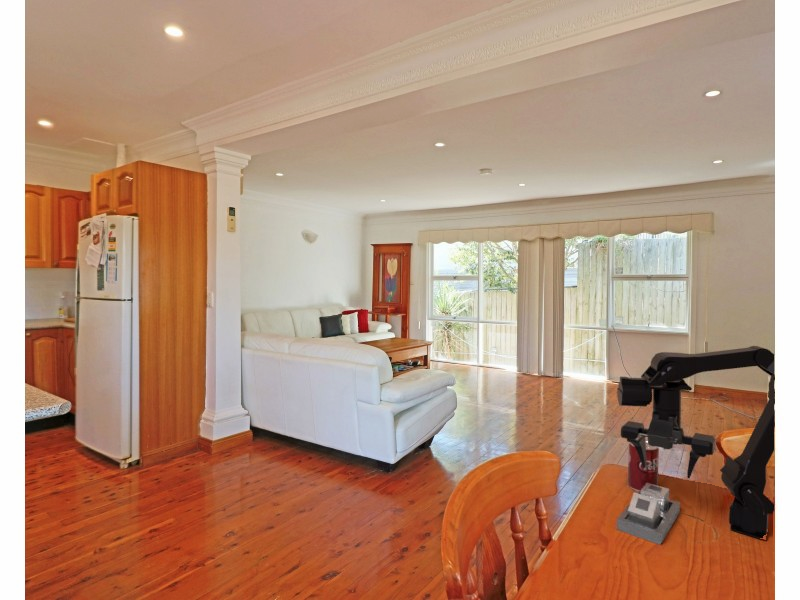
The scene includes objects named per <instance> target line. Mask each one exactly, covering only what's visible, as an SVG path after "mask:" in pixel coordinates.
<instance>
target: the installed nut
mask: <svg viewBox="0 0 800 600" xmlns="http://www.w3.org/2000/svg"><path fill="white" fill-rule="evenodd" d="M641 495H645V496H648V497H651V498H655V499H658V503H659V508H660V511H661V512H664V513H667V512H668V510H669V500H670V488H667V487H663V486H661V485H660V486H659V485H658V486H657V485H653V484H650V483H646V484H645V486H644V487H643V488H642V489H641Z"/></svg>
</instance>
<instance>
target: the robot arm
mask: <svg viewBox="0 0 800 600" xmlns="http://www.w3.org/2000/svg"><path fill="white" fill-rule="evenodd" d="M751 367H758V368H759V369H760V370H761V371H762V372H764V373H766V374H768V375H769V376H770V379H769V383H768V401H767V403H766V405H765V406H764V409H763V411H762V413H761V415H760V417H759V419H758V421H757V423H756V425H755V427H754V429H753V431H752V433H751V434H750V437H749V439H748V440H747V443H746V445H745V447H744V449H743V451H742V453H741V454H740V455H739V456H737V457H735V458H732V457H731V456H727V457H726V459H725V463H724V465H723V467H721V468H720V470H719V471H720V472H721V477H720V478H721V481H722V483H723V485H724V486H725V487H726V488H727V489H728V490H729V492H730V494H731V495H732V496H734V498H733V501H732V502H731V503H730V505H729V516H728V523H729V525H730V527H729V528H730V530H731V531H732V532H736V533H740V534H743V535H745V536H748V537H752V538H755V539H758V538H759V540H761V539H760V538H763V536H764V535H766V534H767V529H768V527H769V515H773V513H774V512H775V510H774V504H775V503H774V502H773V501H771V499H770V498H768V497H767V496H766V494H764V493H765V489H766V485H767V467H768V464H769V462H770V460H771V457H772V456H773V454H774V451H775V450H774V353H773V352H772V351H771V350H770V349H768V348H764V347H761V346H758V345H752V346H748V347H741V348H734V349H733V348H732V349H724V350H716V351H708V352H698V353H683V352H674V351H673V352H671V351H670V352H669V351H668V352H667V351H662V352H661V351H660V352H658V353H656V354H654V356H653V357H652V358H651V361H650V365H649V366H648V367H647V368H646V369H645V371H644V372H643V373H642V374H641V376H640V377H628V376H619V382H618V386H617V387H616V395H617V397H616V398H617V403H618V405H619V406H620V407H643V408H644V407H647V406H648V405H651V403H652V413H651V414H652V415H651V420H650V422H649V426H648V428H645V425H644V423H643V422H637V421H630V420H628V421H627V422H625V423H624V424H622V426H621V428H620V437H621V438H623V439H626V441H627V442H628V443H630V442H631V443H632V444H633V445H634V446H635V448H636V450H637V452H638V455H639V458H640V460H641V463H642V466H643V468H645V467H646V441H648V444H649V445H650V446H653V447H654V446H657V447H658V448H663V449H665V450H672V449H673V447H674V445H676V446H677V445H687V446H690V447H691V449H690V452H689V460H688V466H687V471H686V473H687V475H686V477H687V479H690V478H691V476H692V474H693V471H694V469H695V466H696V464H697V462H698V460H699V459H700V458H706V456H713V455H714V452H715V450H716V448H717V447H716V445H717V444H716V442H717V440H716V438H715V437H714V436H713V435H711V434H703V433H698V432H695V433H694V434H693V436H690V435H689V436H688V435H685V431H684V429H683V428H682V391H692V389H693V388H692V386H690V385H689V384H688V383H687V382H686V381H685V380H686V379H688V378H691V377H693V376H694V375H697V374H700V373H705V372H715V371H724V370H732V369H733V370H734V369H741V368H751ZM646 439H647V440H646Z"/></svg>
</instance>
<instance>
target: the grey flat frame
mask: <svg viewBox="0 0 800 600" xmlns="http://www.w3.org/2000/svg"><path fill="white" fill-rule="evenodd" d="M638 494H641V491H639V492H638ZM630 503H631V501H630V502H629V504H628V505H627V506H626V507H625V508H624V509H623V511H622V512H621V513H620V514H619V516H618V517H617V518H616V530H617V531H619V532H620V531H621V532H623V533H626V534H629V535H631V536H634V537H637V538H640V539H643V540H646V541H649V542H651V543H654V544H656V545H659V546H662V544H663V542H664V539H665V538H666V537H667V535H668V534H669V531H670V530H671V528H672V527H673V525H674V523H675V521H676V520H677V518H678V516H679V515H680V512H681V511H680V510H681V502H680V501H675V500H672V499H669V510H668V512H667V513H664V512H661V511H660V513H661V517H660V521H659V524H658V528H657V529H654V528H651V527H648V526H645V525H642V524H639V523H636V522H633V521H630V517H629V513H628V509H629V506H630ZM661 543H662V544H661Z"/></svg>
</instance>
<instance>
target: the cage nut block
mask: <svg viewBox="0 0 800 600" xmlns="http://www.w3.org/2000/svg"><path fill="white" fill-rule="evenodd" d="M638 493H639V492H638ZM638 493H637V492H635V491H634V492H633V494H632V496H631V500H630V502H631V503H630V502H629V504H630V506H629V509H628V513H629V517H630V521H633V522H636V523H639V524H642V525H645V526H648V527H651V528H654V529H657V528H658V524H659V521H660V517H661V513H660V508H659V503H658V499H655V498H651V497H648V496H645V495H641V494H638Z"/></svg>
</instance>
